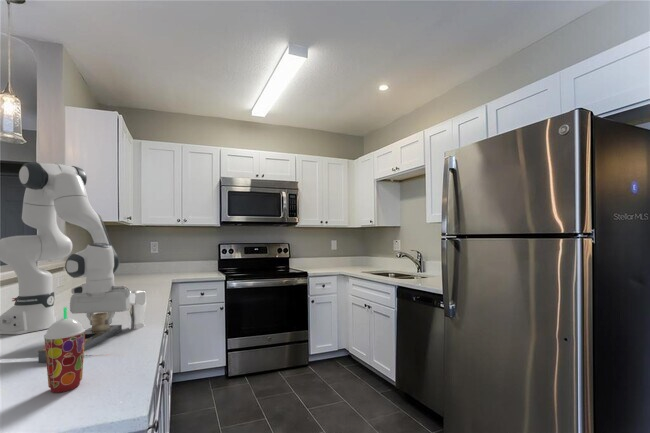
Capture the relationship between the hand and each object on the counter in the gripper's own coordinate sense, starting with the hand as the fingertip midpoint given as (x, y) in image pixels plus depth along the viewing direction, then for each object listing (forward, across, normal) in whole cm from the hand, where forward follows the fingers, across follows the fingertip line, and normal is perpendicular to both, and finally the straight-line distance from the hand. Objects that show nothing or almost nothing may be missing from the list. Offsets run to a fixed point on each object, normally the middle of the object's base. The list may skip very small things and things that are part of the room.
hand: (100, 324), depth 126 cm
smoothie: (+5, -16, +41) cm, 44 cm away
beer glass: (+5, -8, -10) cm, 14 cm away
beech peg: (+4, 0, 0) cm, 4 cm away
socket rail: (+5, 0, +9) cm, 10 cm away
